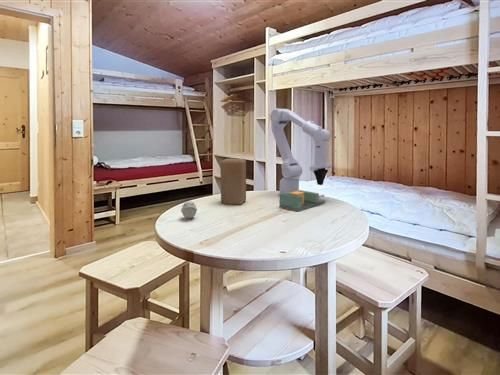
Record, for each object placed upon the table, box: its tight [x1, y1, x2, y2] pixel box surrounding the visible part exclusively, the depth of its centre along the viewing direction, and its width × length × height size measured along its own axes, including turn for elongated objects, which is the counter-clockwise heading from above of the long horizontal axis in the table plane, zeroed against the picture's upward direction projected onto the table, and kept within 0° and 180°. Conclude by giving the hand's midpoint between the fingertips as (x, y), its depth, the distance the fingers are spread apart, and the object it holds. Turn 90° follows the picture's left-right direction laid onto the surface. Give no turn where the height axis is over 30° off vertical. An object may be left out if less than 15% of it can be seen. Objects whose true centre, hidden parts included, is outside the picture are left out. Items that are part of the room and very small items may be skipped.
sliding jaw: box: [299, 189, 325, 203], centre depth 154 cm, size 10×7×4 cm
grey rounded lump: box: [180, 200, 198, 219], centre depth 129 cm, size 6×7×7 cm
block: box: [219, 158, 247, 206], centre depth 154 cm, size 10×10×20 cm
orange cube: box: [290, 191, 304, 204], centre depth 146 cm, size 4×5×5 cm
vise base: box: [278, 193, 326, 212], centre depth 149 cm, size 10×20×6 cm, turn 134°
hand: (320, 184), depth 157 cm, fingers closed
